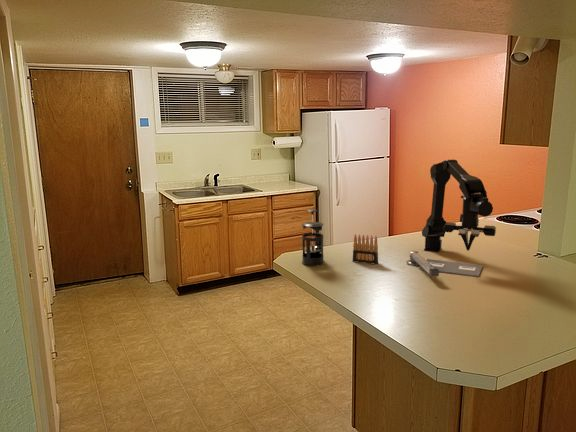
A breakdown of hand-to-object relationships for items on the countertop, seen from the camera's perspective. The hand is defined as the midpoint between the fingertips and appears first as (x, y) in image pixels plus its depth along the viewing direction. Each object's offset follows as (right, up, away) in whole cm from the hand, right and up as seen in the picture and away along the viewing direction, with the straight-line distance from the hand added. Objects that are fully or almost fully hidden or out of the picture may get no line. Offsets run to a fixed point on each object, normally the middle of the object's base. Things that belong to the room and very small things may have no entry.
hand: (468, 250), depth 184 cm
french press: (-60, -7, +16) cm, 62 cm away
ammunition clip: (-38, -6, +15) cm, 41 cm away
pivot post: (-18, -6, +11) cm, 22 cm away
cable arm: (-18, -6, -1) cm, 19 cm away
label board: (-5, -7, +4) cm, 10 cm away
